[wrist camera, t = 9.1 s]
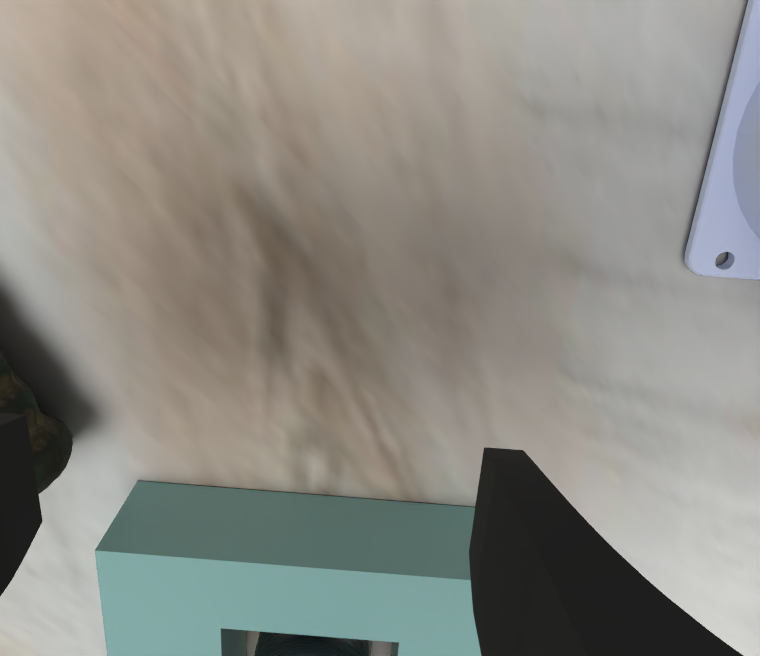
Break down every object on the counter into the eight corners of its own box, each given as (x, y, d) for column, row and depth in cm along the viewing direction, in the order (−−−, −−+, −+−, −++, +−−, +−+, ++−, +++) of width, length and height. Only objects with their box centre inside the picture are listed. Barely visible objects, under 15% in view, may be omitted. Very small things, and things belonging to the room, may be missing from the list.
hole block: (513, 510, 23) (530, 585, 20) (474, 731, 28) (483, 822, 24) (137, 480, 23) (94, 550, 20) (156, 705, 28) (123, 792, 24)
